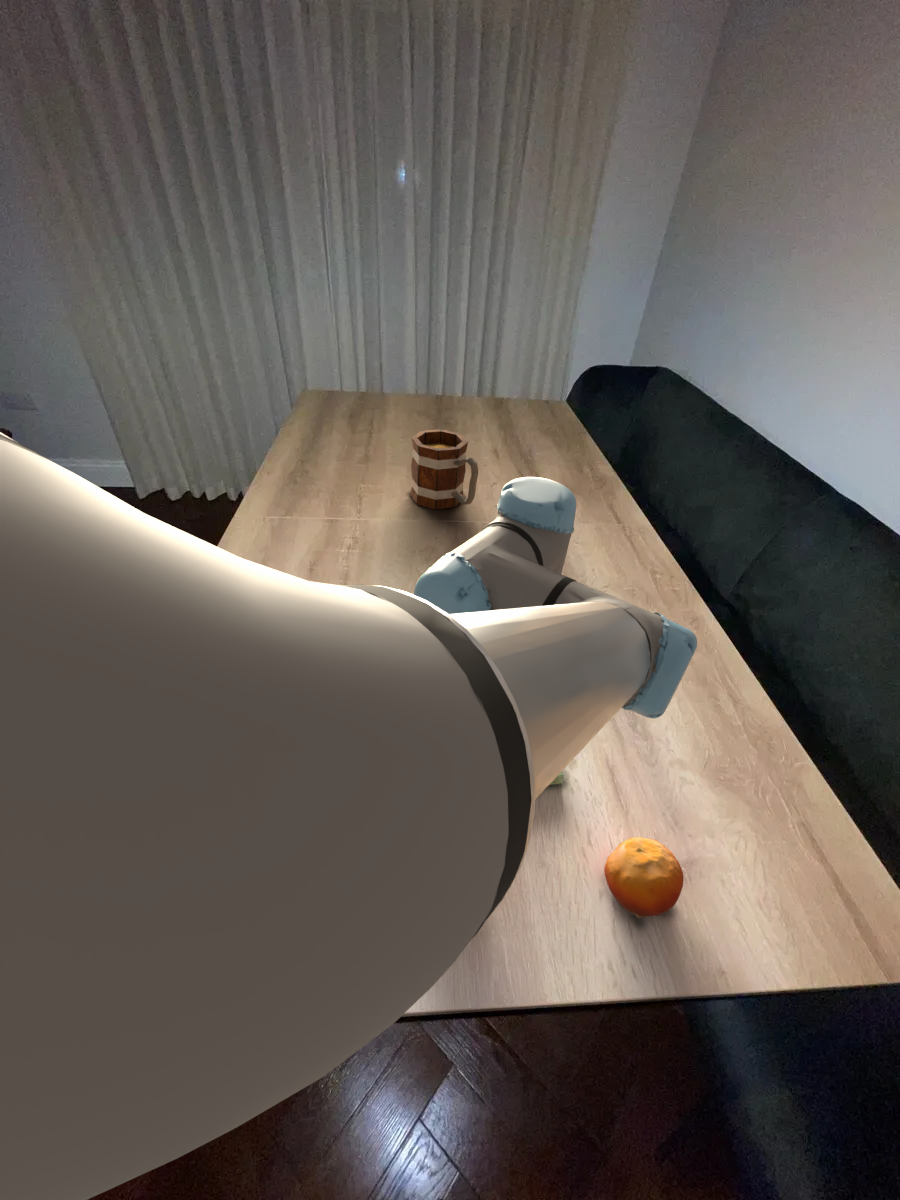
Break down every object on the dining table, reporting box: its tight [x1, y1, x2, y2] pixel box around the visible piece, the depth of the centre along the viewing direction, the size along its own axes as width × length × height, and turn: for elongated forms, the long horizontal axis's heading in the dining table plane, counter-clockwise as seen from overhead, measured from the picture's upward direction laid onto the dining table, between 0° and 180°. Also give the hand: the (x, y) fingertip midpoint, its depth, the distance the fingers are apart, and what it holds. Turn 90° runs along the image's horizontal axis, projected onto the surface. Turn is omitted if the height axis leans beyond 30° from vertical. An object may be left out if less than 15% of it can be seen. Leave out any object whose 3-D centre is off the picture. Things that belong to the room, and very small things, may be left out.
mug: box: [410, 428, 479, 510], centre depth 128 cm, size 20×14×15 cm
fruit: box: [603, 836, 684, 921], centre depth 59 cm, size 8×8×8 cm
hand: (495, 735), depth 73 cm, fingers open, 10 cm apart
